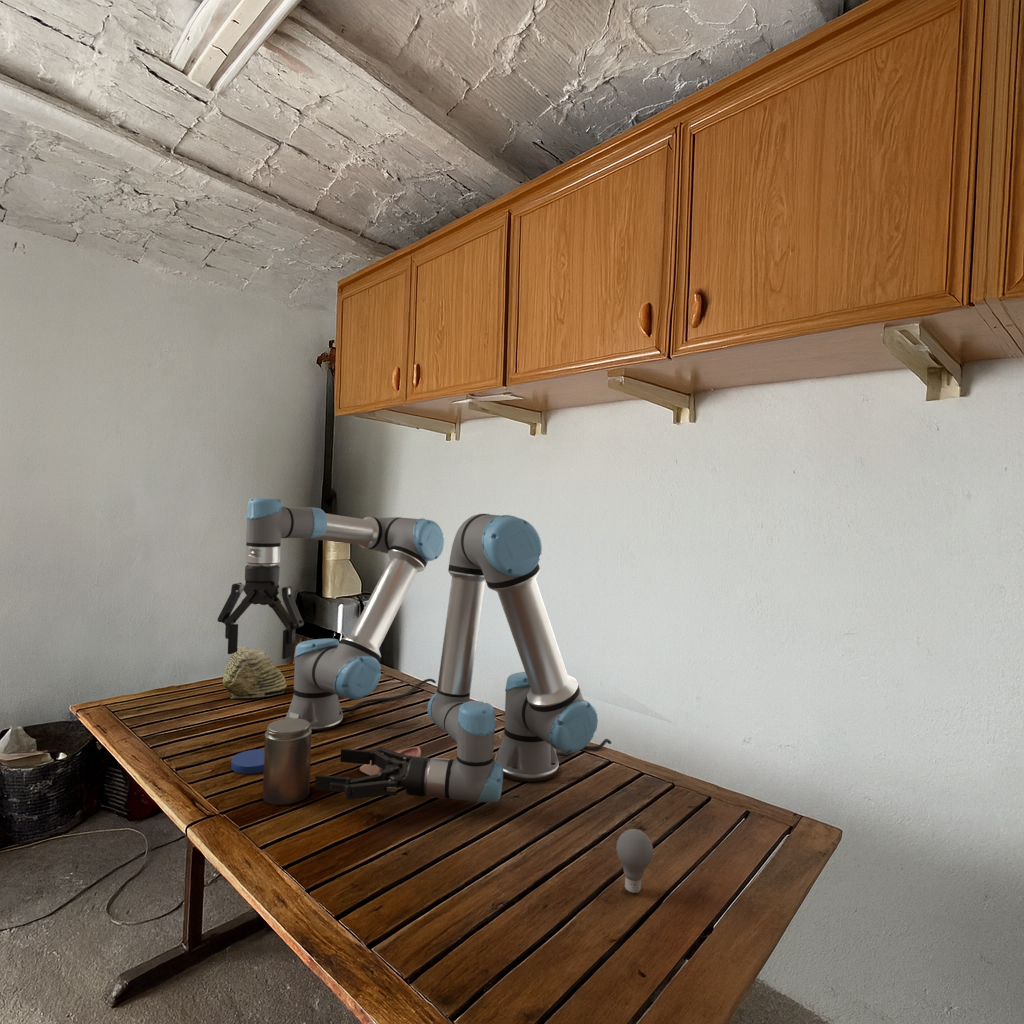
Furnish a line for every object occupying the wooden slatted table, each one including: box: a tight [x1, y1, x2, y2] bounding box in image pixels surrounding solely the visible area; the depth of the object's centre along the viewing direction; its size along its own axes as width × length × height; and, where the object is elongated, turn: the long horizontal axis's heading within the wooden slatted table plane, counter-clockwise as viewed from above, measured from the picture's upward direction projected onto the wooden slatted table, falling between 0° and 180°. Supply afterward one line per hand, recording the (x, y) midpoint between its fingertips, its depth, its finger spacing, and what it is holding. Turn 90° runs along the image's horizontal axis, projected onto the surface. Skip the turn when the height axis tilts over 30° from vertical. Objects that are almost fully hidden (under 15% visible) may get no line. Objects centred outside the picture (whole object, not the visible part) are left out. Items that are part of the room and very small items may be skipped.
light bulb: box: [615, 828, 654, 894], centre depth 106 cm, size 6×6×10 cm
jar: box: [262, 718, 313, 806], centre depth 134 cm, size 9×9×15 cm
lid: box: [230, 748, 265, 775], centre depth 148 cm, size 10×10×2 cm
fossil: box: [222, 646, 288, 699], centre depth 198 cm, size 9×18×15 cm, turn 132°
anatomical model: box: [359, 746, 422, 776], centre depth 149 cm, size 13×4×12 cm
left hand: (259, 655), depth 148 cm, fingers open, 13 cm apart
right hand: (329, 768), depth 133 cm, fingers open, 13 cm apart
